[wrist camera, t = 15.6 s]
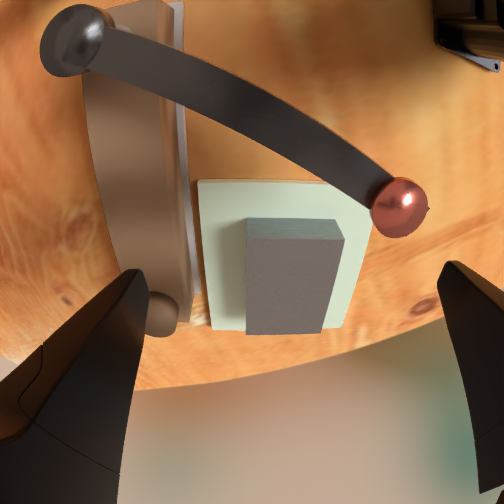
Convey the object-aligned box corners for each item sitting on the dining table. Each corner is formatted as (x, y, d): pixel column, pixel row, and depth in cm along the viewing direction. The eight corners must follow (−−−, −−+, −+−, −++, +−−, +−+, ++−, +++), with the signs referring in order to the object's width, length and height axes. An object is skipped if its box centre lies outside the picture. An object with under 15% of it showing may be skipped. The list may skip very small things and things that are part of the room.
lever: (45, 66, 7) (22, 70, 6) (71, 2, 6) (50, -2, 5) (389, 233, 12) (402, 253, 11) (426, 187, 11) (444, 203, 10)
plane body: (107, 17, 11) (42, 6, 6) (183, 3, 12) (147, -29, 6) (145, 288, 24) (124, 353, 18) (201, 289, 24) (190, 358, 18)
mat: (377, 184, 19) (380, 188, 18) (340, 322, 27) (341, 327, 26) (198, 179, 18) (197, 182, 18) (212, 324, 27) (212, 329, 26)
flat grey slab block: (335, 219, 19) (345, 239, 17) (315, 310, 25) (320, 333, 23) (246, 217, 19) (246, 238, 17) (245, 311, 25) (245, 335, 23)
